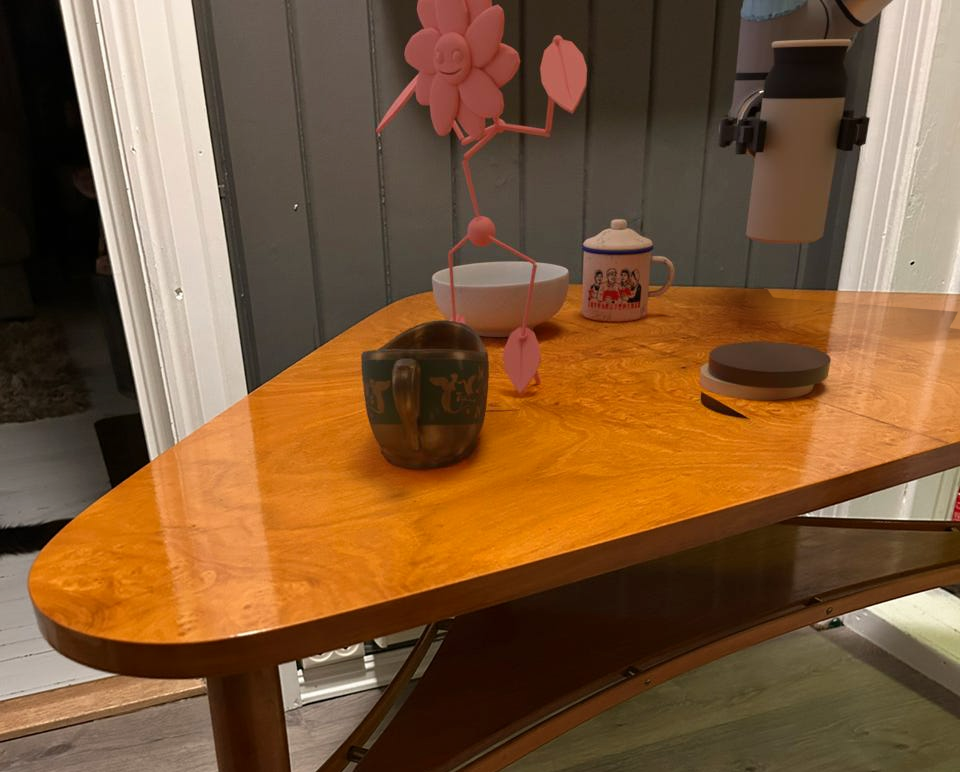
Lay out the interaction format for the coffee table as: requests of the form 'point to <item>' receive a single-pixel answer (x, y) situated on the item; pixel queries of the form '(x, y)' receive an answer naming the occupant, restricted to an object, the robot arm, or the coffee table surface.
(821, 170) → the travel mug
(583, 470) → the coffee table surface
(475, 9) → the figurine
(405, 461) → the cup
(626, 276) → the teacup with lid
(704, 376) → the coaster pile
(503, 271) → the cereal bowl
